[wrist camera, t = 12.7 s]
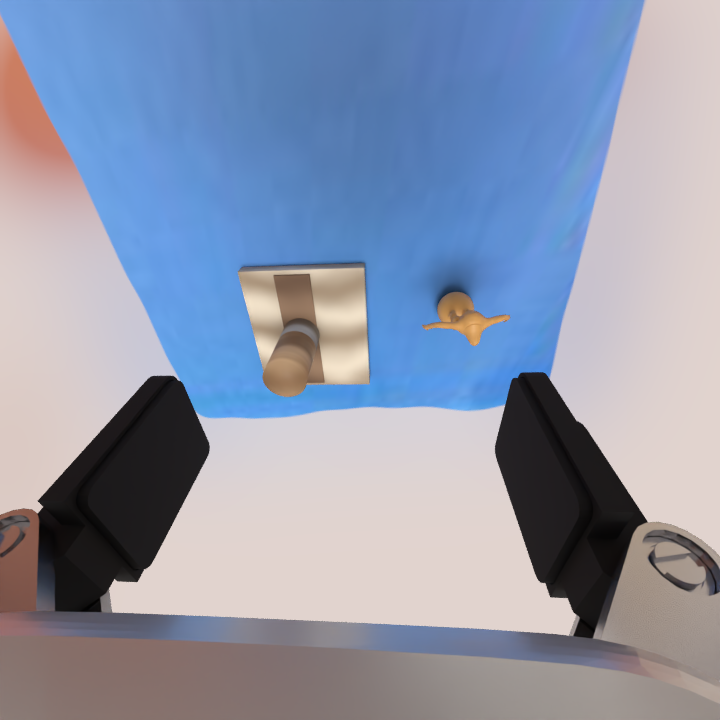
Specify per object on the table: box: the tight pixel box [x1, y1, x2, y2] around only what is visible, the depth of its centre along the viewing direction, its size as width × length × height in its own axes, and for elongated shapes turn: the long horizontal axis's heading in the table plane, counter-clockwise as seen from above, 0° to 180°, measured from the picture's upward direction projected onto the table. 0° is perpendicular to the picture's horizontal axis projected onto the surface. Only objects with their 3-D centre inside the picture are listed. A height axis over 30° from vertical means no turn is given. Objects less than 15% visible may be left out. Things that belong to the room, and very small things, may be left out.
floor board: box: [238, 263, 370, 385], centre depth 43 cm, size 16×14×2 cm
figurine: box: [422, 292, 510, 346], centre depth 35 cm, size 8×6×12 cm
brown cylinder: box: [263, 318, 320, 397], centre depth 38 cm, size 4×4×9 cm
